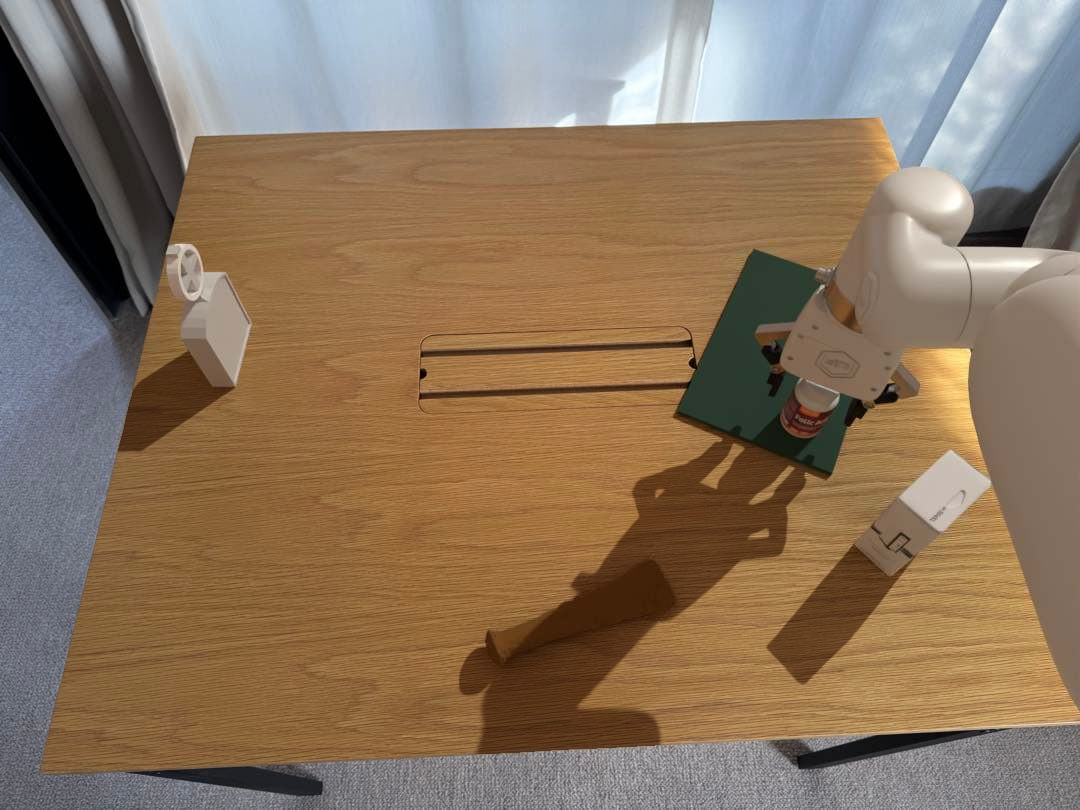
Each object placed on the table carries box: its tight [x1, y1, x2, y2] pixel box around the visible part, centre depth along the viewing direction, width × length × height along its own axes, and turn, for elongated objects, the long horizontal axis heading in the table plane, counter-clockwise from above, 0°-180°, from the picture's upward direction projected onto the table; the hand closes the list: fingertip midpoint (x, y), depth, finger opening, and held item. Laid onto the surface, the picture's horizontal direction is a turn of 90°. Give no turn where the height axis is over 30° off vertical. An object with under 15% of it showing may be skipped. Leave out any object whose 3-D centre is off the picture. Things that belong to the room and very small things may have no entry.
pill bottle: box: [780, 378, 840, 438], centre depth 83 cm, size 5×5×8 cm
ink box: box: [853, 449, 992, 577], centre depth 75 cm, size 9×5×12 cm, turn 130°
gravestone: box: [165, 243, 253, 388], centre depth 85 cm, size 3×9×18 cm, turn 0°
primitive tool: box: [484, 558, 677, 668], centre depth 74 cm, size 19×6×4 cm, turn 115°
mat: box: [676, 248, 854, 476], centre depth 93 cm, size 18×28×1 cm, turn 154°
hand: (812, 400), depth 83 cm, fingers open, 7 cm apart
